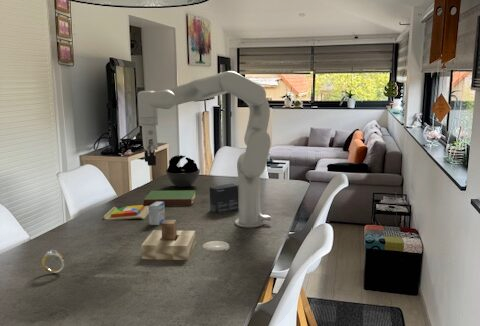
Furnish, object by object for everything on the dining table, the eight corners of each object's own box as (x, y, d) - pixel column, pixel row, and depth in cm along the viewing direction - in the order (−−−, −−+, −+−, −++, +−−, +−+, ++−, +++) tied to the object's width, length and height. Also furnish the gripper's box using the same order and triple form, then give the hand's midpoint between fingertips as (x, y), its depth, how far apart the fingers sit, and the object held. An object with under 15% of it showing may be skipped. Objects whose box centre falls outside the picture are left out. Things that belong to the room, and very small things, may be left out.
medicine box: (158, 225, 194) (157, 206, 192) (149, 225, 195) (148, 205, 193) (165, 220, 202) (164, 201, 200) (156, 219, 202) (155, 201, 201)
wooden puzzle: (114, 210, 220) (114, 203, 220) (152, 210, 220) (152, 203, 219) (102, 221, 203) (102, 213, 202) (143, 220, 202) (143, 213, 202)
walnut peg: (177, 248, 164) (176, 219, 162) (174, 253, 159) (173, 223, 157) (165, 248, 164) (164, 219, 162) (162, 252, 160) (161, 223, 158)
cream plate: (230, 243, 171) (230, 241, 171) (227, 253, 161) (227, 250, 161) (204, 243, 172) (204, 240, 172) (200, 252, 162) (200, 250, 162)
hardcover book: (143, 206, 226) (143, 199, 225) (151, 197, 244) (151, 190, 244) (193, 206, 225) (192, 199, 225) (197, 197, 244) (197, 190, 243)
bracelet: (41, 275, 144) (39, 251, 143) (46, 271, 148) (44, 248, 146) (62, 275, 144) (60, 252, 142) (66, 271, 147) (65, 248, 146)
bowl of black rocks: (167, 183, 275) (166, 153, 271) (199, 182, 277) (199, 152, 274) (165, 191, 255) (164, 158, 252) (200, 190, 257) (199, 157, 254)
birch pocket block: (195, 245, 169) (195, 230, 168) (187, 262, 153) (187, 246, 152) (154, 245, 170) (153, 230, 169) (142, 261, 155) (141, 245, 153)
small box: (232, 206, 223) (232, 182, 221) (240, 209, 217) (239, 185, 215) (209, 210, 216) (209, 186, 214) (216, 213, 210) (216, 189, 208)
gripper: (161, 123, 173) (162, 166, 176) (154, 119, 189) (156, 159, 192) (141, 123, 171) (143, 167, 174) (136, 120, 187) (138, 160, 190)
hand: (150, 163), depth 183 cm, fingers open, 9 cm apart
